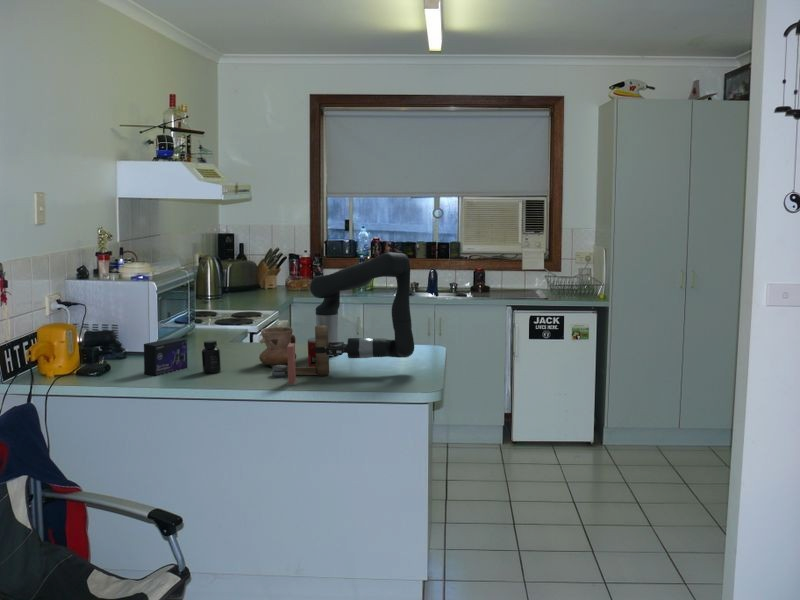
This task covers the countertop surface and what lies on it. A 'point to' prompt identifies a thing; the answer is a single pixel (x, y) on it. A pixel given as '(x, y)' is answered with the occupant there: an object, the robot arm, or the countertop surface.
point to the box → (165, 356)
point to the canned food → (311, 352)
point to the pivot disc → (279, 373)
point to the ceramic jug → (276, 345)
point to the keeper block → (291, 365)
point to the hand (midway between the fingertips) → (315, 348)
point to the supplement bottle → (211, 358)
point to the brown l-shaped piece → (321, 358)
